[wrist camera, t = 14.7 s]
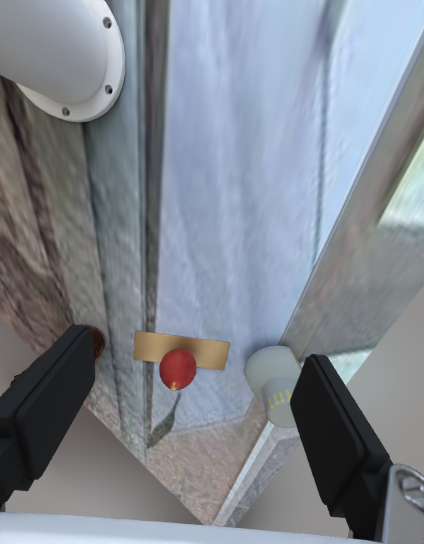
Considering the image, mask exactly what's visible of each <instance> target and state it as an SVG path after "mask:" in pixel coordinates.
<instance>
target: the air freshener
mask: <svg viewBox="0 0 424 544" xmlns="http://www.w3.org/2000/svg"><path fill="white" fill-rule="evenodd" d="M301 370H302V367H301V365H300V364H299V362H298V360H297V358H296V357H295V355H294V353H293V352H292V350H291V349H290V348H289V347H286V346H279V345H275V346H268V347H264V348H262V349H260V350H258V351H256V352H255V353H254V354H253V355H251V357H250V358H249V359H248V360H247V362H246V364H245V367H244V374H245V377H246V379H247V381H248V383H249V385H250V387H251V389H252V391H253V392H254V394H255V395H256V397H257V398H258V399H259V400H260V401H261V402H263V403H264V405H265V409H266V413H267V417H268V419H269V421H270V422H271V423H272V424H274V425H276V426H278V427H281V428H292V427H296V423H295V420H294V417H293V414H292V411H291V408H290V398H291V396H292V393H293V391H294V388H295V386H296V383H297V381H298V378H299V375H300V373H301Z"/></svg>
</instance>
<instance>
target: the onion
mask: <svg viewBox="0 0 424 544" xmlns="http://www.w3.org/2000/svg"><path fill="white" fill-rule="evenodd" d="M159 370H160V377H161V379H162V382H163V383H164V384H165V385H166V386H167V387H168V388H169V389H171V390H173V391H176V390H180V389H183V388H185V387H186V386H187V385H189V384H190V383H191V382H192V380H193V379H194V377H195V374H196V360H195V358H194V356H193V355H192V354H191V353H190V352H189V351H187V350H185V349H173V350H171V351H169V352H168V353H166V354H165V355H164V357H163V358H162V360H161V362H160V367H159Z"/></svg>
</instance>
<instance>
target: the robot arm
mask: <svg viewBox="0 0 424 544" xmlns="http://www.w3.org/2000/svg"><path fill="white" fill-rule="evenodd" d="M110 25H111V27H110V29H109V26H110ZM0 75H1V76H3V77H5V78H7V79H9V80H12V81H14V82H16V84H17V86H18V87H19V88H20V89H21V91H22V92H23V93H24V94H25V95H26V97H27V98H28V99H29V100H30V101H32V102H33V103H34V104H35V105H36V106H37V107H39V108H40V109H42V110H43V111H45V112H46V113H48V114H50V115H52V116H54V117H57V118H59V119H62V120H66V121H70V122H78V123H79V122H88V121H91V120H94V119H97V118H99V117H100V116H102V115H103V114H105V113H106V112H107V111H108V110H109V109H110V108H111V107H112V106H113V105H114V103H115V102H116V100H117V98H118V97H119V95H120V92H121V89H122V86H123V82H124V76H125V51H124V44H123V40H122V36H121V33H120V30H119V27H118V25H117V22H116V20H115V18H114V16H113V14H112V12H111V11H110V9H109V7H108V6H107V4H106V2H105V1H104V0H0ZM110 90H113V91H112V94H110ZM69 111H70V115H69V114H68V113H69ZM94 381H95V364H94V346H93V332H92V330H89V327H88V326H82V325H71V326H70V327H69V328H68V329H67V330H66V332H65V333H64V334H63V335H62V336H61V337H60V338H59V339H58V340H57V341H56V342H55V343H54V344H53V345H52V346H51V348H50V349H49V350H48V351H47V352H46V353H45V354H44V355H42V356H40V357H38V358H37V359H36V360H35V361H34V362H33V363H32V364H31V365H30V367H29V368H27V370H26V371H25V372H24V373H23V374H22V375H21V376H20V377H19V378H18V379H17V380H16V381H15V382H14V383H13V384H12V385H11V386H10V388H8V389H7V390H6V392H5V393H4V394H3V395H2V396H1V397H0V544H424V476H423V475H422V474H421V473H420V472H418V471H417V470H415V469H413V468H411V467H410V466H407V465H403V464H393V463H392V461H391V459H390V458H389V457H390V456H389V454H388V453H387V451H386V449H385V448H384V446H383V445H382V443H381V442H380V440H379V438H378V437H377V435H376V433H375V432H374V430H373V429H372V427H371V426H370V424H369V422H368V421H367V420H366V418H365V416H364V415H363V413H362V411H361V410H360V408H359V406H358V405H357V403H356V402H355V400H354V398H353V397H352V396H351V394H350V392H349V391H348V389H347V387H346V386H345V384H344V383H343V381H342V379H341V378H340V376H339V375H338V373H337V371H336V370H335V368H334V367H333V365H332V363H331V362H330V360H329V359H328V357H327V356H325V355H317V354H311V355H310V357H307V358H306V360H305V363H304V365H303V368H302V370H301V373H300V375H299V378H298V381H297V383H296V386H295V388H294V391H293V393H292V396H291V398H290V408H291V411H292V414H293V417H294V420H295V423H296V426H297V429H298V432H299V435H300V438H301V441H302V444H303V447H304V450H305V453H306V456H307V459H308V462H309V465H310V468H311V471H312V474H313V477H314V480H315V483H316V486H317V489H318V492H319V495H320V498H321V500H322V502H323V503H324V504H325V505H327V508H328V511H329V513H330V516H331V517H340V518H346V521H347V524H348V526H349V534H348V538H340V537H331V536H322V535H311V534H300V533H288V532H275V531H264V530H253V529H241V528H229V527H217V526H204V525H192V524H179V523H167V522H153V521H141V520H127V519H114V518H100V517H87V516H73V515H55V514H38V513H37V514H36V513H18V512H5V502H6V501H8V499H9V498H10V496H11V494H12V493H13V491H14V490H21V491H28V490H29V488H30V487H31V485H32V483H33V481H34V480H35V479H39V478H40V477H41V476H42V475H43V473H44V471H45V470H46V468H47V466H48V464H49V462H50V461H51V459H52V457H53V455H54V454H55V452H56V450H57V448H58V447H59V445H60V443H61V441H62V440H63V438H64V436H65V434H66V432H67V431H68V429H69V427H70V425H71V424H72V422H73V420H74V418H75V417H76V415H77V413H78V411H79V410H80V408H81V406H82V404H83V403H84V401H85V399H86V397H87V395H88V394H89V392H90V390H91V388H92V387H93V384H94Z"/></svg>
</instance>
